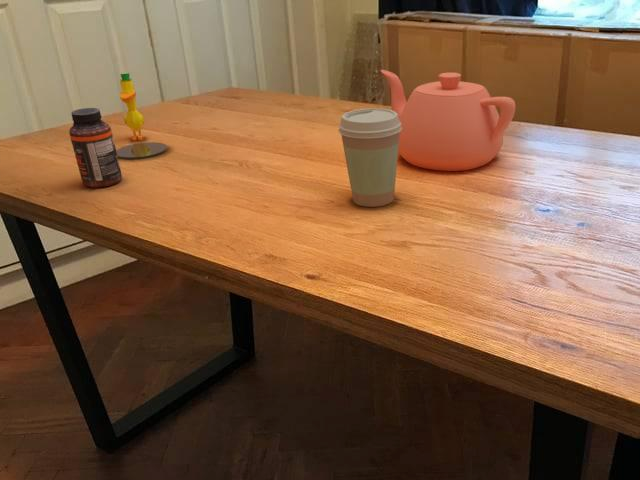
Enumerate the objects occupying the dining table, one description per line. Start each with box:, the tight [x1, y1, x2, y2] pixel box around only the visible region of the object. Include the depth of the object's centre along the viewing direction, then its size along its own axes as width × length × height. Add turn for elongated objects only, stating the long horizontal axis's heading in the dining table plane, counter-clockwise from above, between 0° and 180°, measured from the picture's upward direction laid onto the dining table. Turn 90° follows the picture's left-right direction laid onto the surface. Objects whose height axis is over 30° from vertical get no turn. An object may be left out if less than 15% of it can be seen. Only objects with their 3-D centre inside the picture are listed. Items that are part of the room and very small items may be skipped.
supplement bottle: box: [68, 107, 123, 189], centre depth 102 cm, size 6×6×11 cm
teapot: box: [380, 69, 517, 172], centre depth 107 cm, size 25×17×13 cm
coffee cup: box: [338, 107, 402, 208], centre depth 91 cm, size 8×8×12 cm
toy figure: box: [119, 72, 146, 142], centre depth 123 cm, size 7×4×12 cm, turn 9°
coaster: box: [116, 141, 169, 160], centre depth 118 cm, size 9×9×1 cm
